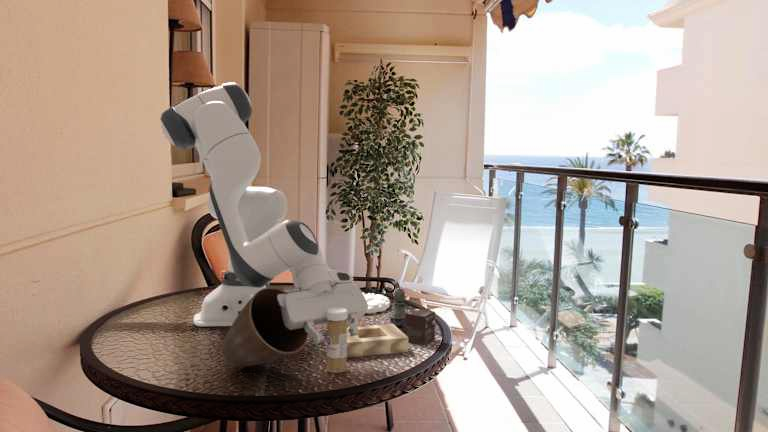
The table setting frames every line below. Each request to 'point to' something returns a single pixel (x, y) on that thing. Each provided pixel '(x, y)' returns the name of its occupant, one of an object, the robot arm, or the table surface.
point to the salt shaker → (398, 309)
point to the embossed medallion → (376, 303)
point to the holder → (376, 341)
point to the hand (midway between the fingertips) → (338, 338)
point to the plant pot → (261, 332)
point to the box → (420, 326)
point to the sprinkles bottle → (336, 339)
